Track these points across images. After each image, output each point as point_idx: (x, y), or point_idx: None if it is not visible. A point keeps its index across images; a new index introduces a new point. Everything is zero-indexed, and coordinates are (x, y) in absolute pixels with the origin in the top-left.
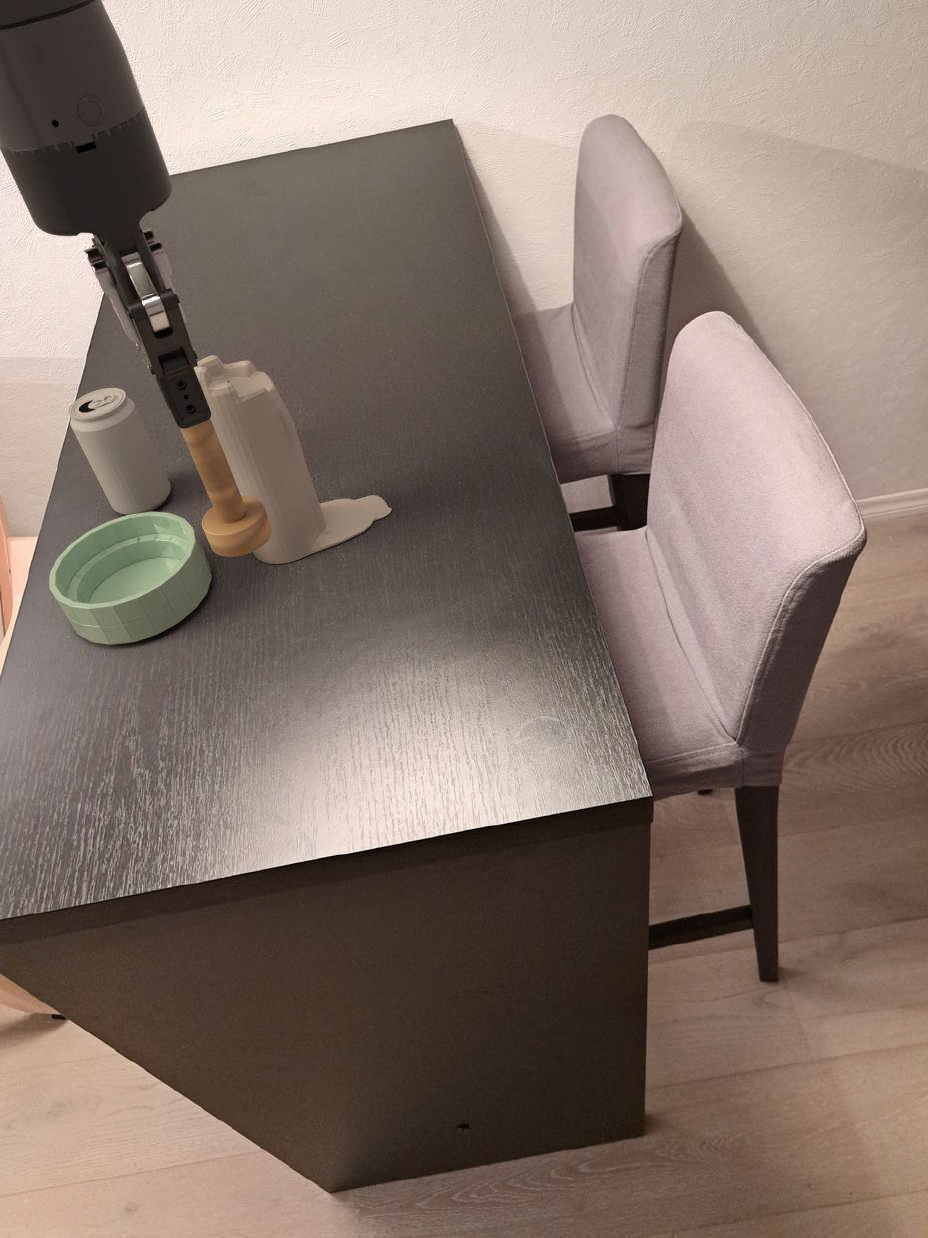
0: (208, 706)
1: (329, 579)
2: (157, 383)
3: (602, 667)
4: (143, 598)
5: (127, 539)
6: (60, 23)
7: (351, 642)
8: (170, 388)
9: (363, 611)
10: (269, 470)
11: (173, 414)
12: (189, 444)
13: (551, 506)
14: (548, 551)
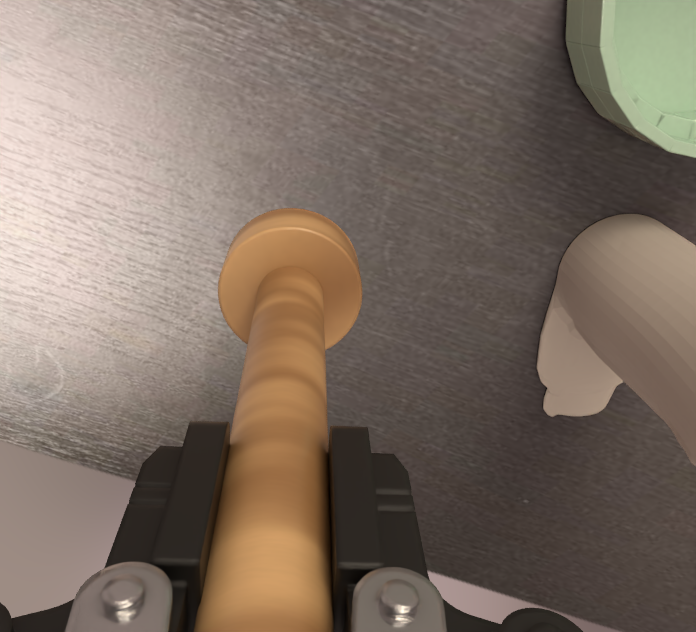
0: (346, 18)
1: (479, 286)
2: (368, 481)
3: (98, 469)
4: (599, 4)
5: None
6: None
7: None
8: (113, 550)
9: (378, 297)
10: (636, 352)
11: (183, 449)
12: (258, 379)
13: None
14: None
